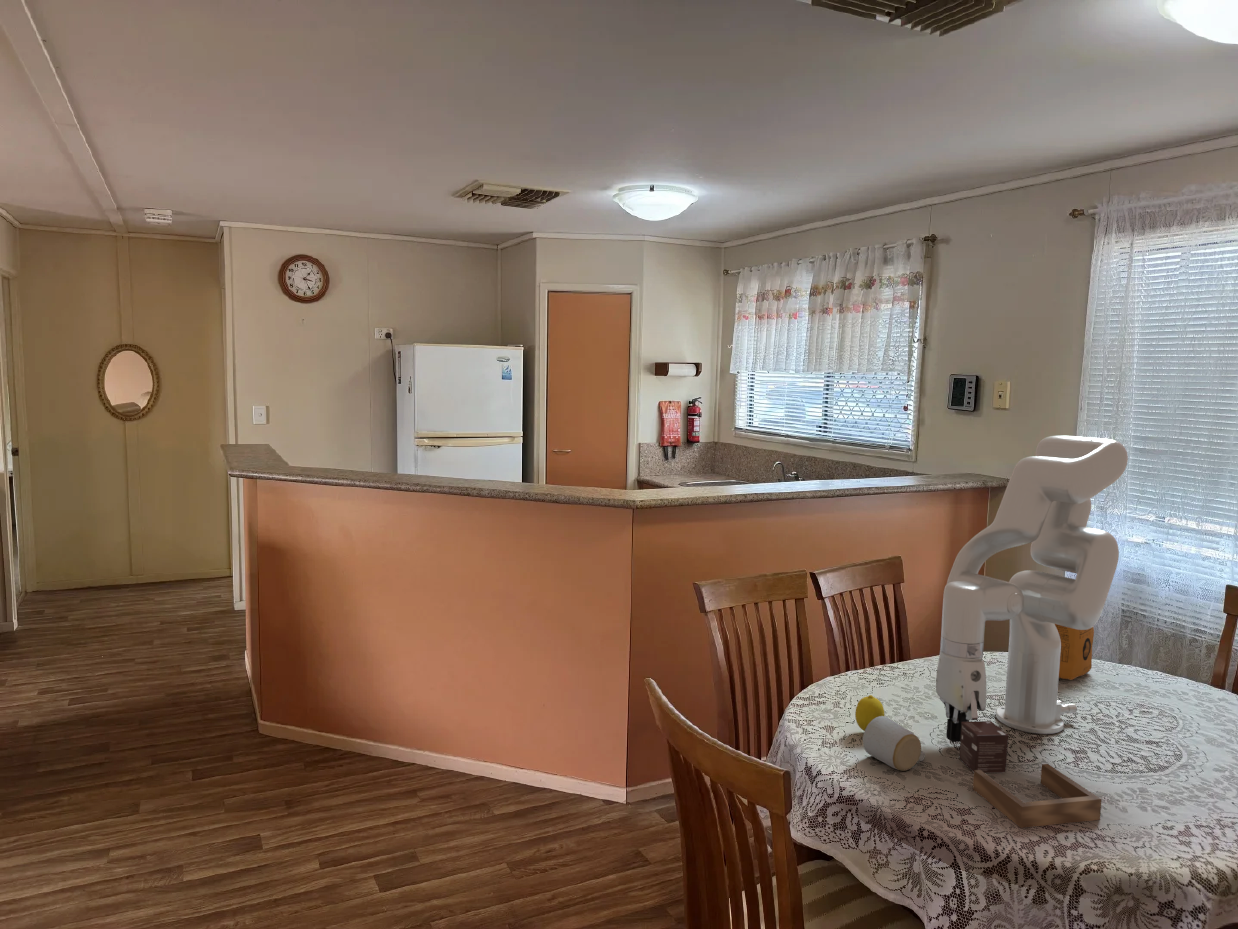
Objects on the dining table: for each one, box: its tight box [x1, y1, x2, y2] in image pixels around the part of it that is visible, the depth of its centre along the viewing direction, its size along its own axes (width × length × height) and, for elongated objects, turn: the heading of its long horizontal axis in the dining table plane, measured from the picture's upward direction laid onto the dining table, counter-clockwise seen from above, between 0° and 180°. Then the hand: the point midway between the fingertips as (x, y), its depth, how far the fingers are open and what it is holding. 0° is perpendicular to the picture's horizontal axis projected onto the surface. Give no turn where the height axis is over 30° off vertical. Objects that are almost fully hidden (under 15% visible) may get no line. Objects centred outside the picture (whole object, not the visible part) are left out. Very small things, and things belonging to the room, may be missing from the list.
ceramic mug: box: [862, 716, 926, 772], centre depth 153 cm, size 11×8×8 cm
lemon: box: [854, 694, 886, 732], centre depth 165 cm, size 6×6×8 cm
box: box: [958, 720, 1009, 774], centre depth 152 cm, size 6×6×7 cm
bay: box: [972, 763, 1102, 829], centre depth 138 cm, size 14×12×4 cm
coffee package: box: [1055, 624, 1095, 681], centre depth 200 cm, size 10×12×22 cm
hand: (956, 739), depth 160 cm, fingers closed
